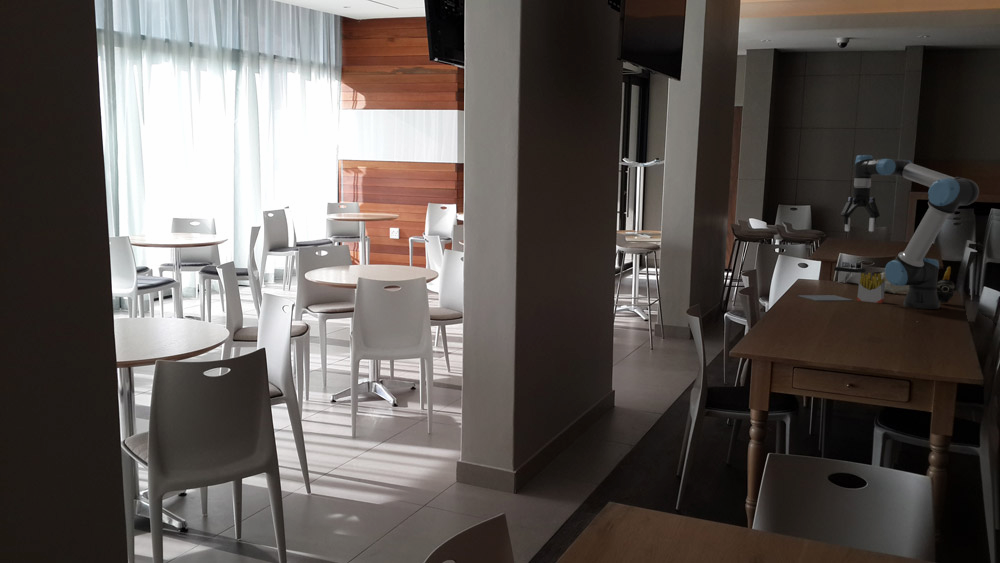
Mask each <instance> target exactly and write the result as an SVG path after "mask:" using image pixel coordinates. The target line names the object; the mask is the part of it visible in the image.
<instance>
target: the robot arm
mask: <svg viewBox="0 0 1000 563" xmlns="http://www.w3.org/2000/svg"><path fill="white" fill-rule="evenodd" d="M872 176H896V177H900V178H903V179H907V180H909V181H911V182H913V183H918V184H920V185H923V186H926V187H928V192H927V195H928V196H927V197H928V200H927V201H928V202H927V204H928V209H927V211H926V212H925V214H924V216H923V217H922V219H921V221H920V223H919V225H918V226H917V228H916V229H915V232H914V233H913V235H912V237H911V238H910V240H909V242H908V244H907V246H906V248H905V249H904V251H901V252H899V253H898V254H897V256H896V257H895V259H893V260H891V261H889V262H887V263H886V264H885V268H884V272H885V274H886V278H887V280H888V281H889V282H890V283H891V284H893V285H896V286H905V285H909V290H908V292H906V296H905V298H904V300H903V306H904V307H908V308H914V309H922V310H923V309H924V310H937V309H940V306H941V304H940V303H941V302H939V299H938V295H937V283H938V282H939V281H938V280H939V279H938V278H939V270H940V263H939V262H940V261H939V260H938V259H935V258H927V257H926V255H927V254H928V252H929V250H930V248H931V247H932V244H933V243H934V241H935V240H936V238H937V237H938V235H939V233H940V231H941V229H942V228H943V227H944V224H945V223H946V221H947V220H948V218H949V216H950V215H954V214H956V211H957V210H958V208H959V207H960V206H961V207H963V206H964V207H965V206H969V205H970V204H973V203H974V202H975V201H977V199H978V197H979V194H980V188H979V186H978V184H977V183H976V182H975V181H973V180H972V179H968V178H964V177H961V176H956V177H955V176H954V177H953V176H950V175H948V174H944V173H942V172H939V171H936V170H933V169H929V168H927V167H924V166H921V165H918V164H915V163H913V162H912V161H911V160H909V159H908V160H907V159H891V158H876V159H874V157H873V156H872V154H871V155H870V154H861V155H860V154H859V155H858V154H857V155H856V156H855V162H854V178H853V180H854V181H853V186H854V187H853V196H848V197H847V201H846V203H845V205H844V207H843V209H842V211H841V213H840V217H842V218H844V219H843V224H844V231H845V232H850V231H851V215H852V214H853V213H854V211H856V210H857V208H858V207H859V208H862V207H863V208H865V210H866V211H867V213H868V214H869V216H870V217H869V219H868V220H869V223H868V232H875V225H876V222H877V221H876V219H878V218H879V217H880V216H881V214H880V212H879V209H878V205H877V203H876V198H875V197H870V195H871V186H872Z"/></svg>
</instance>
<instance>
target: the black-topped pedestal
mask: <svg viewBox="0 0 1000 563" xmlns="http://www.w3.org/2000/svg"><path fill="white" fill-rule="evenodd" d="M840 263H841V264H840V265H841V266H835V267H834V268H833V270H834V271H835V272H838V278H837V279H838V280H837V283H843V284H847V283H852V284H857V285H859V282H860V279H861V274H862V273H866V271H867V270H866V268H863V262H857V263H856V262H855V266H853V264H852V263H851V262H847V261H841V262H840Z"/></svg>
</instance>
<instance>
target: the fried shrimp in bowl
mask: <svg viewBox="0 0 1000 563" xmlns="http://www.w3.org/2000/svg"><path fill="white" fill-rule="evenodd" d="M951 270H952V268H951V266H947V267H946V271H945V272H944V275H943V278H942V279H941V280H939V281H937V295H938V299H939V303H941V304H942V303H943V304H946V303H949V301H950V300H951V299H952V298H953V296H954V293H956V292H955V288H956V287H955V286H956V285H955V284H954V282H953V281H951V280H950V276H951V272H952V271H951Z"/></svg>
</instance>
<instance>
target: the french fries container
mask: <svg viewBox="0 0 1000 563" xmlns="http://www.w3.org/2000/svg"><path fill="white" fill-rule="evenodd" d="M871 274H872V273H871V272H868V273H867V274H865V272H861V278H860V282H859V284H858V288H857V289H858V291H857V296H856V301H858V302H867V303H874V304H875V303H876V304H883V303H884V299H885V292H884V290H885V281H884V279H881V274H880V273H874V275H873V276H872V275H871ZM877 277H878V279H877Z"/></svg>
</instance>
